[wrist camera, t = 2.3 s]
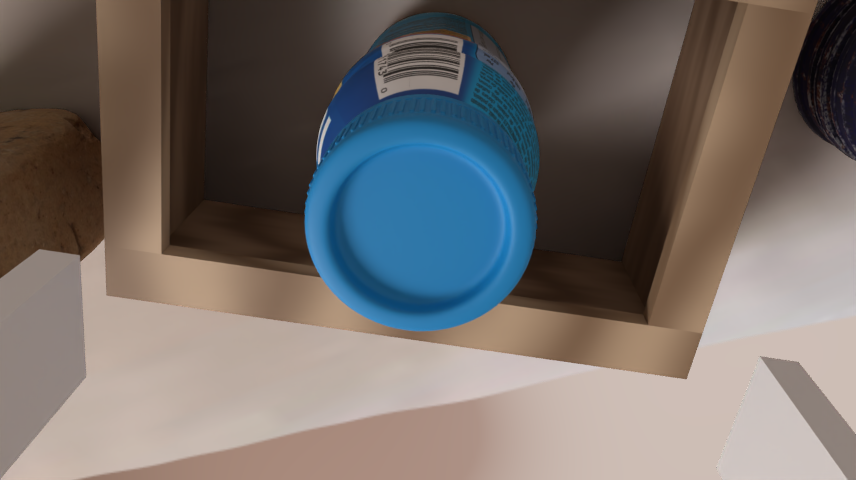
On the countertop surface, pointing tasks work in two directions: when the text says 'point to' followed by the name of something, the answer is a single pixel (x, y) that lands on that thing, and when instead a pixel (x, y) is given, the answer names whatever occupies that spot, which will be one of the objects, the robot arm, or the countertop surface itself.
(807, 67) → the storage jar
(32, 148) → the block
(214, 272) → the walnut box
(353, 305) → the beverage bottle
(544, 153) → the countertop surface
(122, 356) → the countertop surface
